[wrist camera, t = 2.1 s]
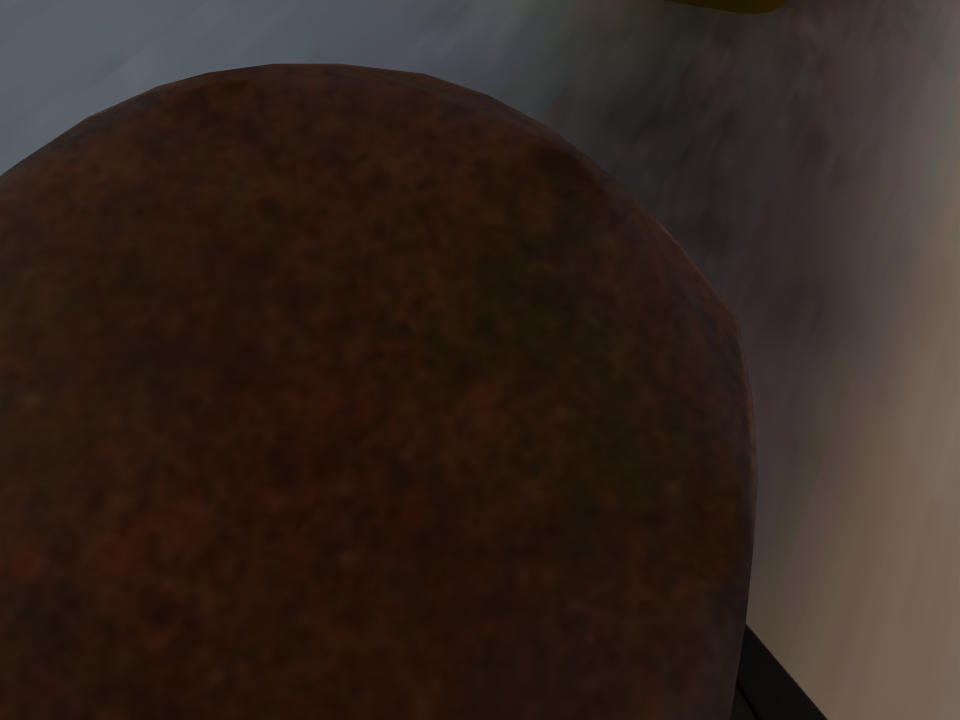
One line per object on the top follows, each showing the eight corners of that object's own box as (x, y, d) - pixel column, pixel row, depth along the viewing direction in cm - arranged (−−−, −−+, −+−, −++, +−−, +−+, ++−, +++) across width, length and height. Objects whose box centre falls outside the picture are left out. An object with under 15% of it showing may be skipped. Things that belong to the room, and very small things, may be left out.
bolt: (488, 411, 18) (615, -15, 4) (539, 565, 17) (1008, 756, 3) (314, 464, 18) (-303, 175, 3) (353, 631, 16) (-408, 1403, 2)
